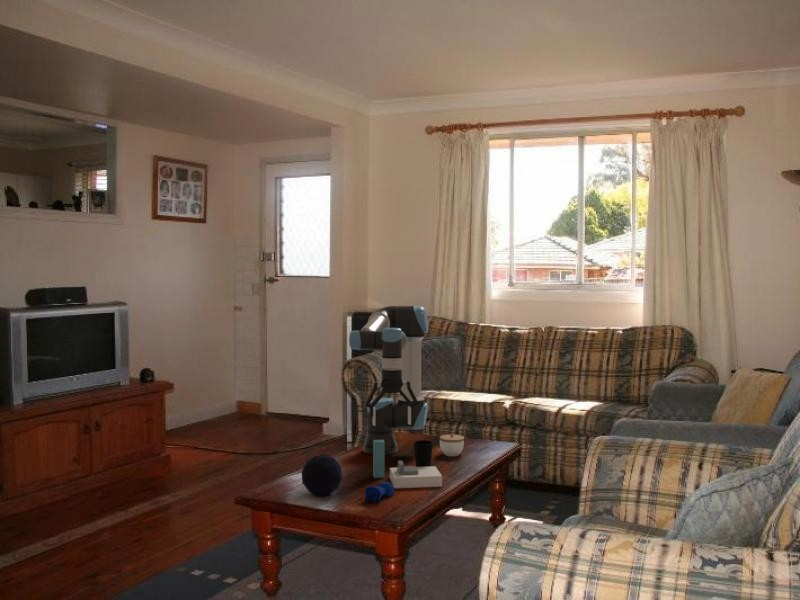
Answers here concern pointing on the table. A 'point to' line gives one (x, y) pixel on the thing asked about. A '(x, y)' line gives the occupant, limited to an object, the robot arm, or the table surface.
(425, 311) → the robot arm
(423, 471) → the socket box
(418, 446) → the cup
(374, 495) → the toy
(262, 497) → the table surface
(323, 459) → the decorative orb
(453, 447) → the lidded jar
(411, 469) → the plate
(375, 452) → the plug
